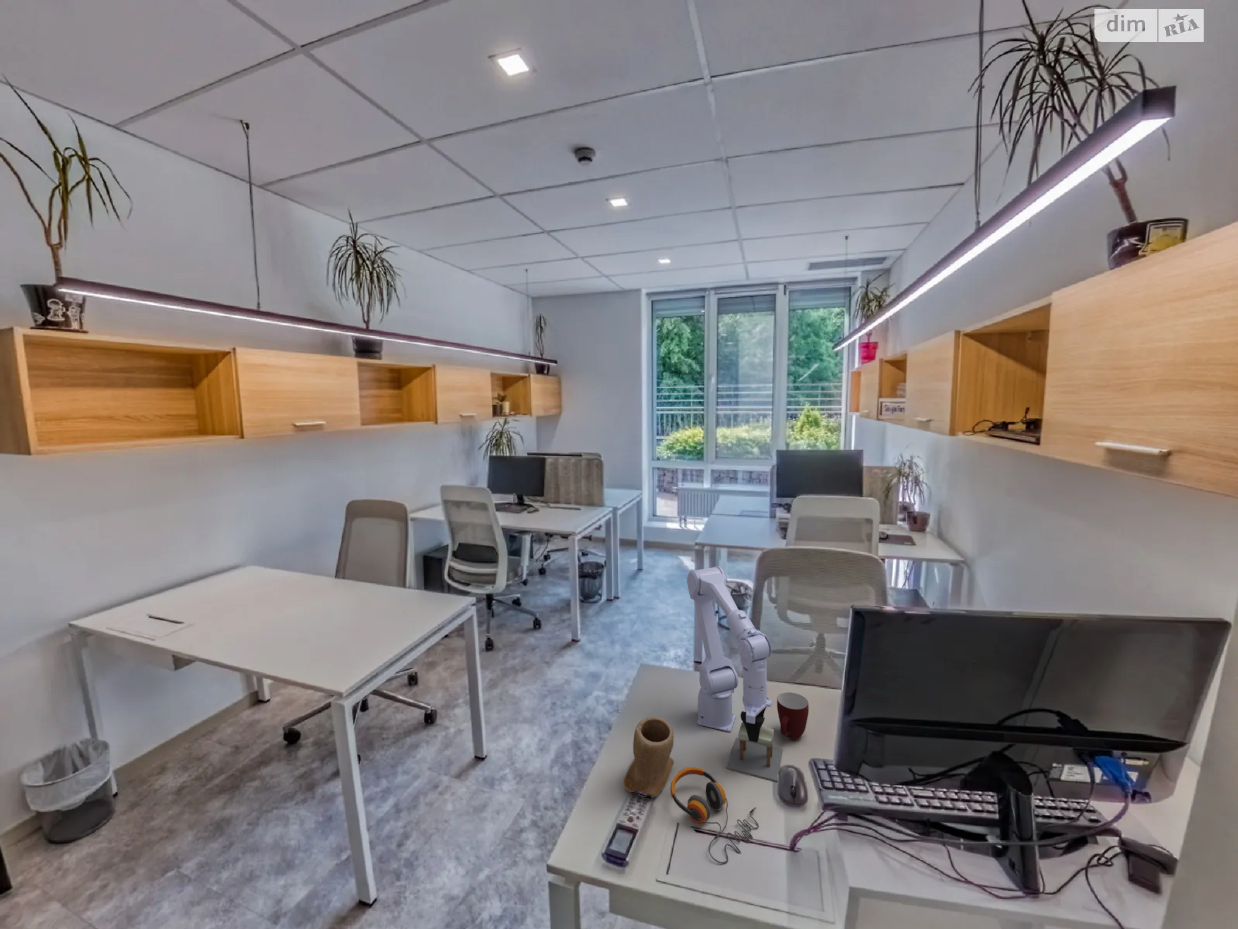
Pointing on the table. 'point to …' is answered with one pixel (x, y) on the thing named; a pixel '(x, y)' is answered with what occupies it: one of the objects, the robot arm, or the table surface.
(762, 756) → the mat
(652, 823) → the table surface
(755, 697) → the robot arm
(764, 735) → the stool
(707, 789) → the headphones
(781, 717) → the mug
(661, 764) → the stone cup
